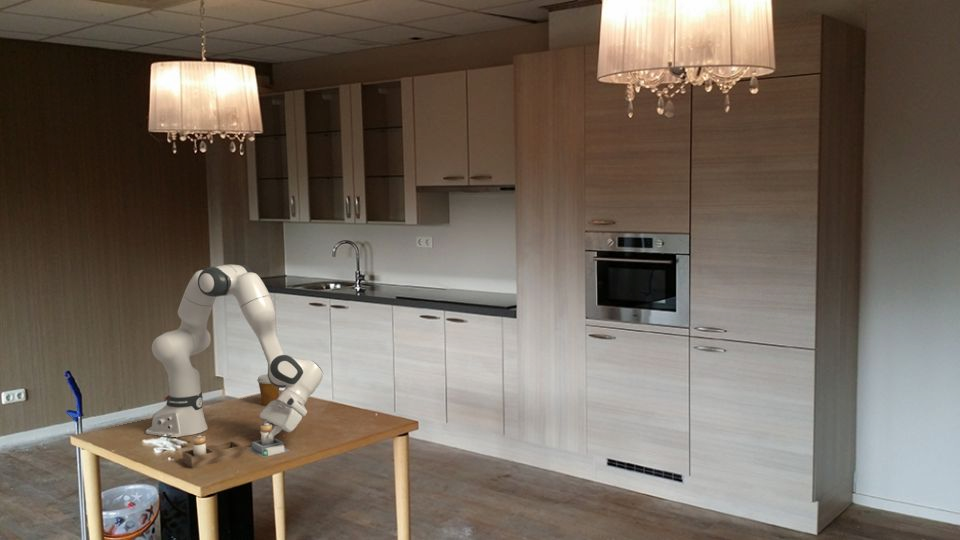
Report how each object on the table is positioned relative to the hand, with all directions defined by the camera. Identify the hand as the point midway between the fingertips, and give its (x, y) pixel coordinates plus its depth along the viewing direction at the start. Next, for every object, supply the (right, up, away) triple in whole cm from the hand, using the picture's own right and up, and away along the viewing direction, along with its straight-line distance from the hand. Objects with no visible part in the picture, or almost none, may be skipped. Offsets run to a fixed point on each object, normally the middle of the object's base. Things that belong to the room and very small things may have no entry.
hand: (265, 436), depth 290 cm
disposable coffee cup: (-14, 0, +64) cm, 66 cm away
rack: (-15, -7, -8) cm, 19 cm away
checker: (+1, -6, +1) cm, 6 cm away
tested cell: (+1, -5, +1) cm, 5 cm away
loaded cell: (-19, -7, -11) cm, 23 cm away
